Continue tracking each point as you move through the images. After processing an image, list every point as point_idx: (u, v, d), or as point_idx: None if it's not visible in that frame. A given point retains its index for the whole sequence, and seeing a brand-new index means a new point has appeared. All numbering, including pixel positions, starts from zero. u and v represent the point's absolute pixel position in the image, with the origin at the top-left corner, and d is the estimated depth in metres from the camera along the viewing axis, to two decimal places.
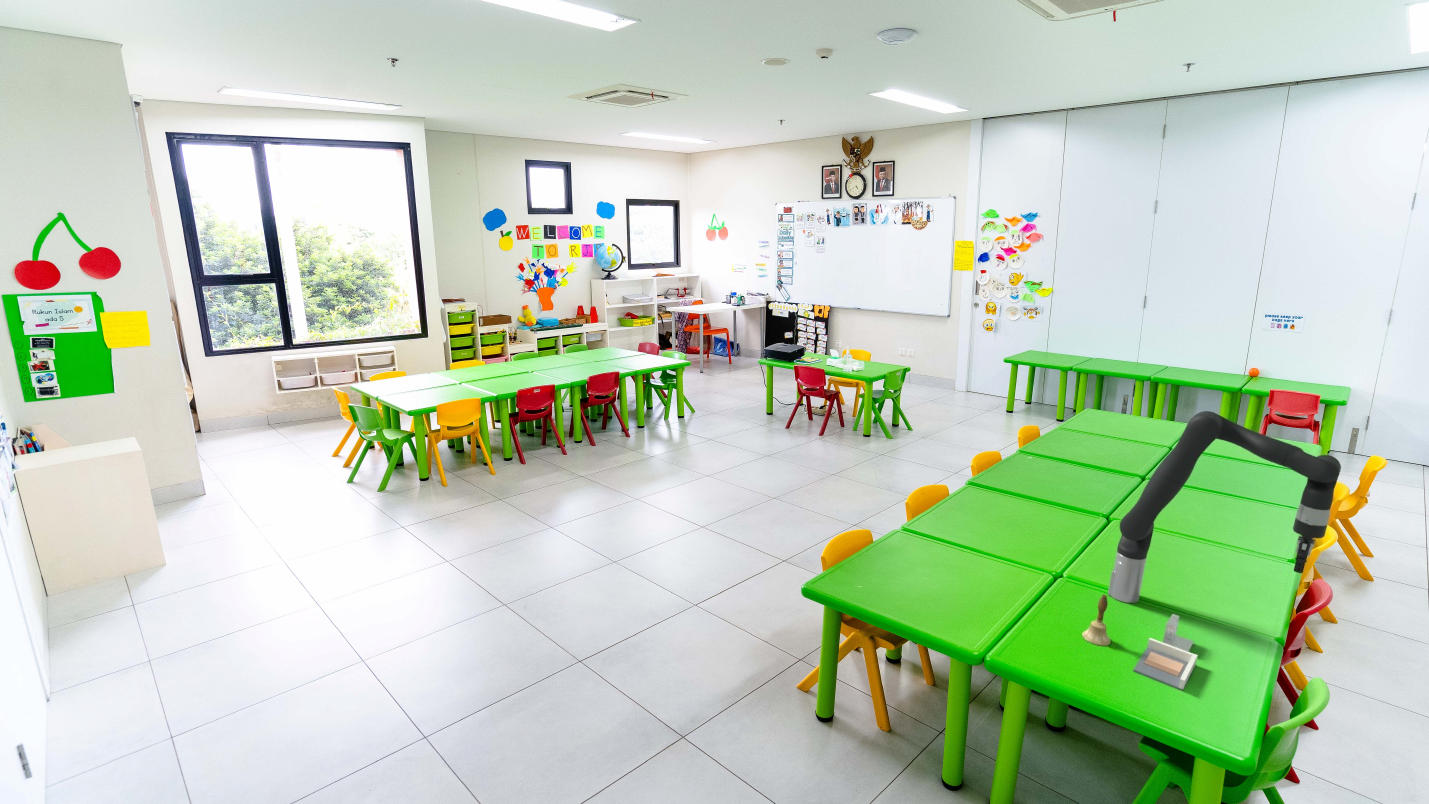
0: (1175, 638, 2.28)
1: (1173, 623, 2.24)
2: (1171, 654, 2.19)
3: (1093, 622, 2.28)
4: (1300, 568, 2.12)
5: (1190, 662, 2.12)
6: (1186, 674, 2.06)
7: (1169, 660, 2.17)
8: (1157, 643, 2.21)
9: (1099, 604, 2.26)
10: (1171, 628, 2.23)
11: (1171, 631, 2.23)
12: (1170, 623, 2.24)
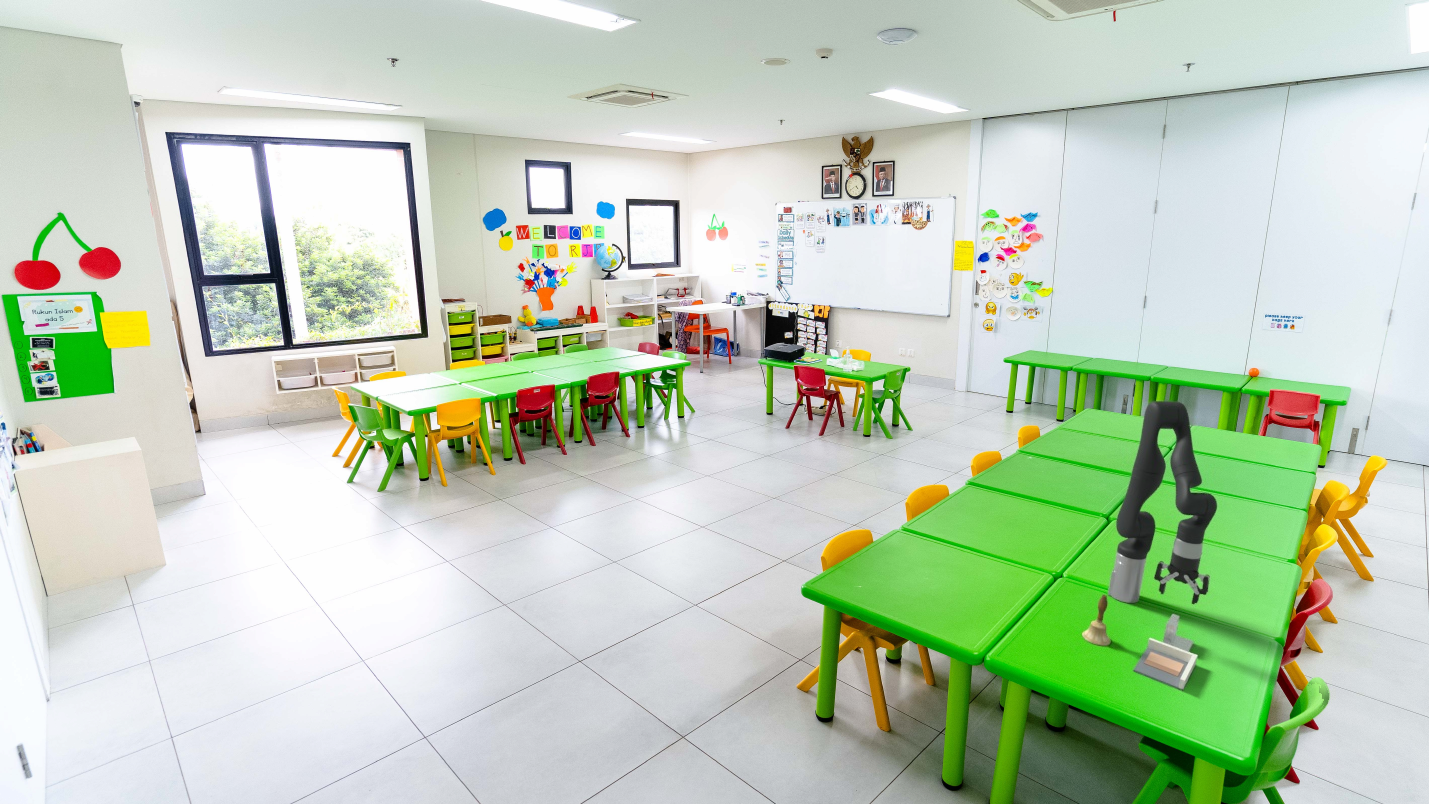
0: (1175, 638, 2.28)
1: (1173, 623, 2.24)
2: (1171, 654, 2.19)
3: (1093, 622, 2.28)
4: (1198, 598, 2.20)
5: (1190, 662, 2.12)
6: (1186, 674, 2.06)
7: (1169, 660, 2.17)
8: (1157, 643, 2.21)
9: (1099, 604, 2.26)
10: (1171, 628, 2.23)
11: (1171, 631, 2.23)
12: (1170, 623, 2.24)
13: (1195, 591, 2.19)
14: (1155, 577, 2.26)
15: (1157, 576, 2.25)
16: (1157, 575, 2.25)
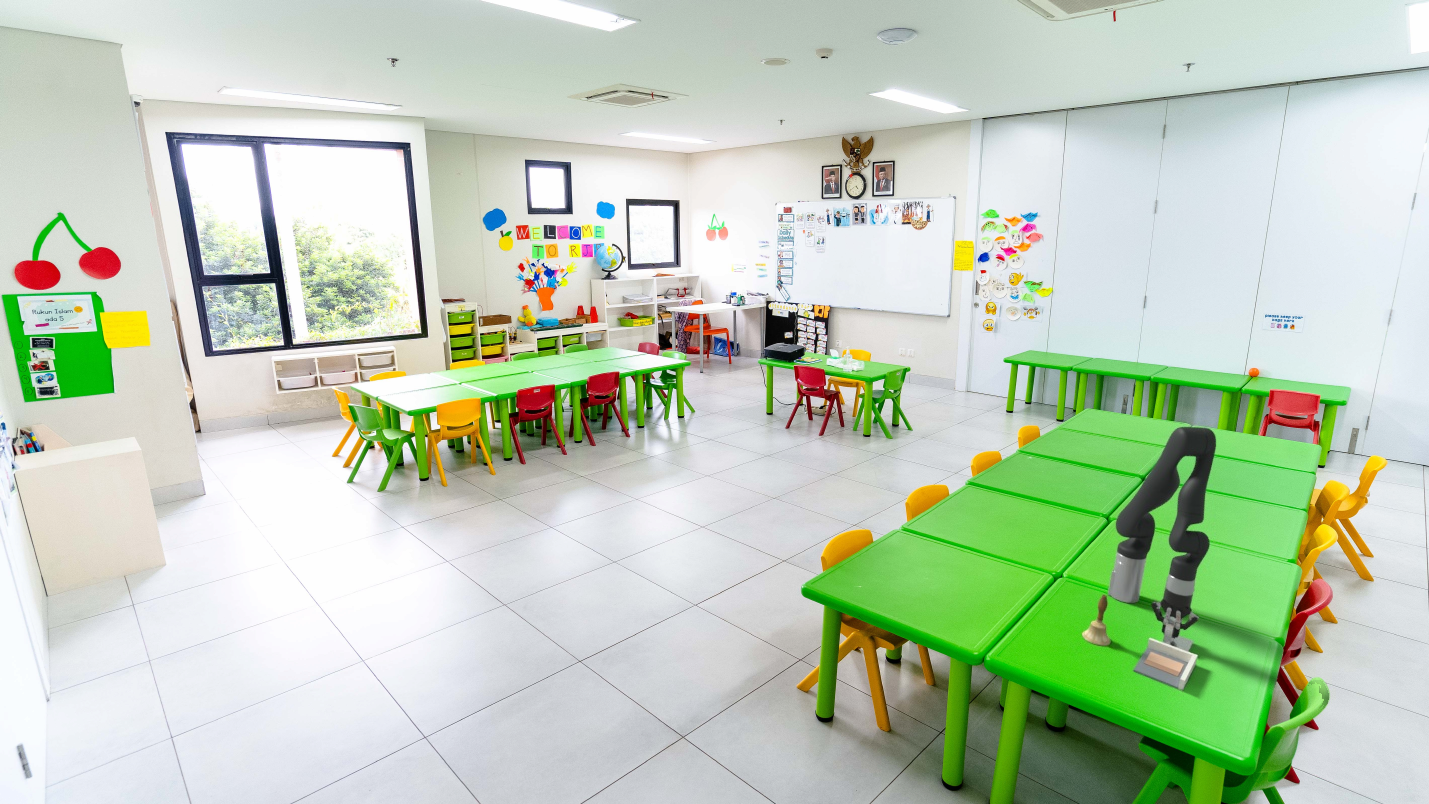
0: (1175, 638, 2.28)
1: (1173, 623, 2.24)
2: (1171, 654, 2.19)
3: (1093, 622, 2.28)
4: None
5: (1190, 662, 2.12)
6: (1186, 674, 2.06)
7: (1169, 660, 2.17)
8: (1157, 643, 2.21)
9: (1099, 604, 2.26)
10: (1171, 628, 2.23)
11: (1171, 631, 2.23)
12: (1170, 623, 2.24)
13: (1176, 626, 2.24)
14: (1158, 618, 2.28)
15: (1160, 617, 2.27)
16: (1158, 616, 2.28)
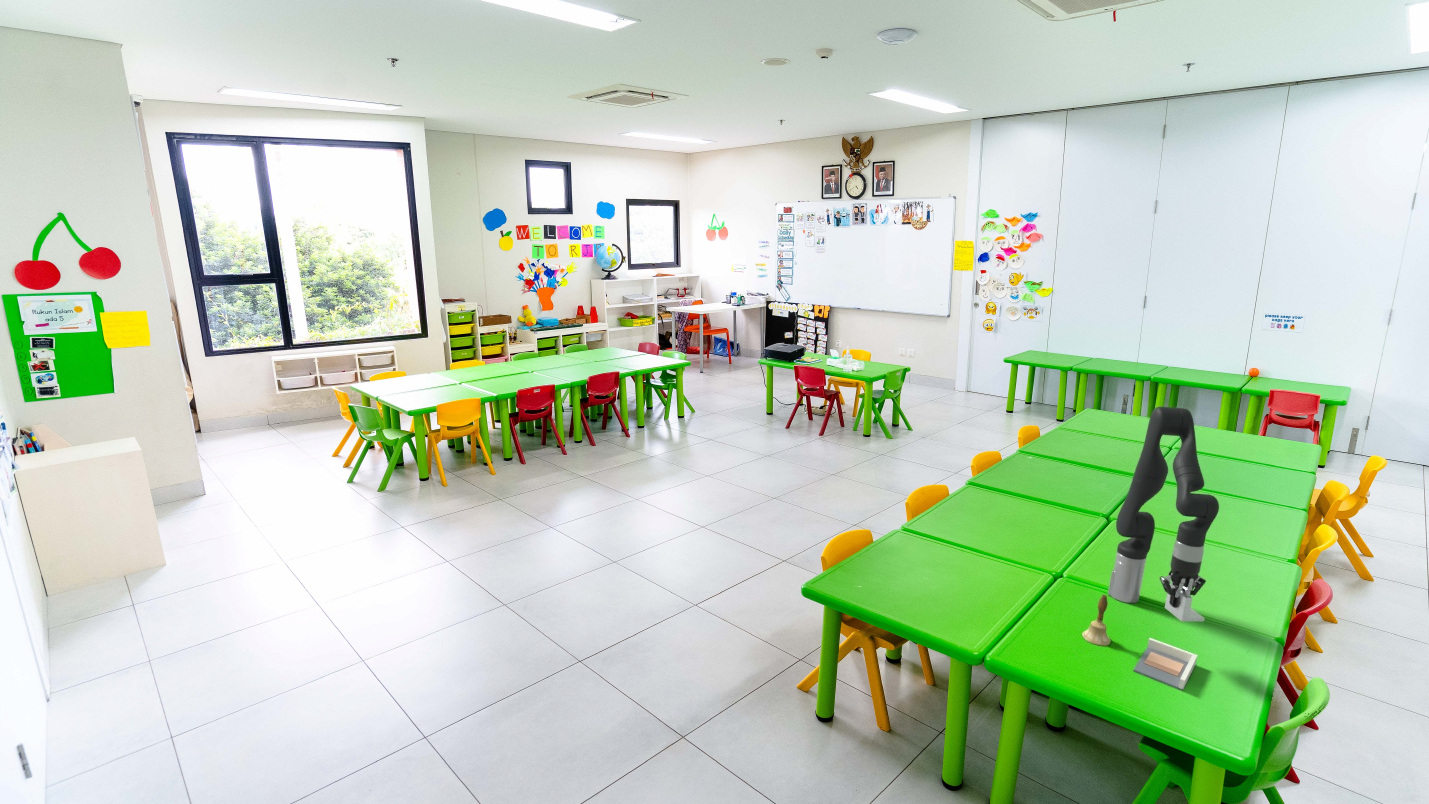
0: None
1: (1187, 595, 2.13)
2: (1171, 654, 2.19)
3: (1093, 622, 2.28)
4: None
5: (1190, 662, 2.12)
6: (1186, 674, 2.06)
7: (1169, 660, 2.17)
8: (1157, 643, 2.21)
9: (1099, 604, 2.26)
10: (1190, 601, 2.11)
11: (1190, 604, 2.12)
12: (1187, 596, 2.12)
13: None
14: (1170, 593, 2.14)
15: (1172, 591, 2.13)
16: (1170, 591, 2.13)
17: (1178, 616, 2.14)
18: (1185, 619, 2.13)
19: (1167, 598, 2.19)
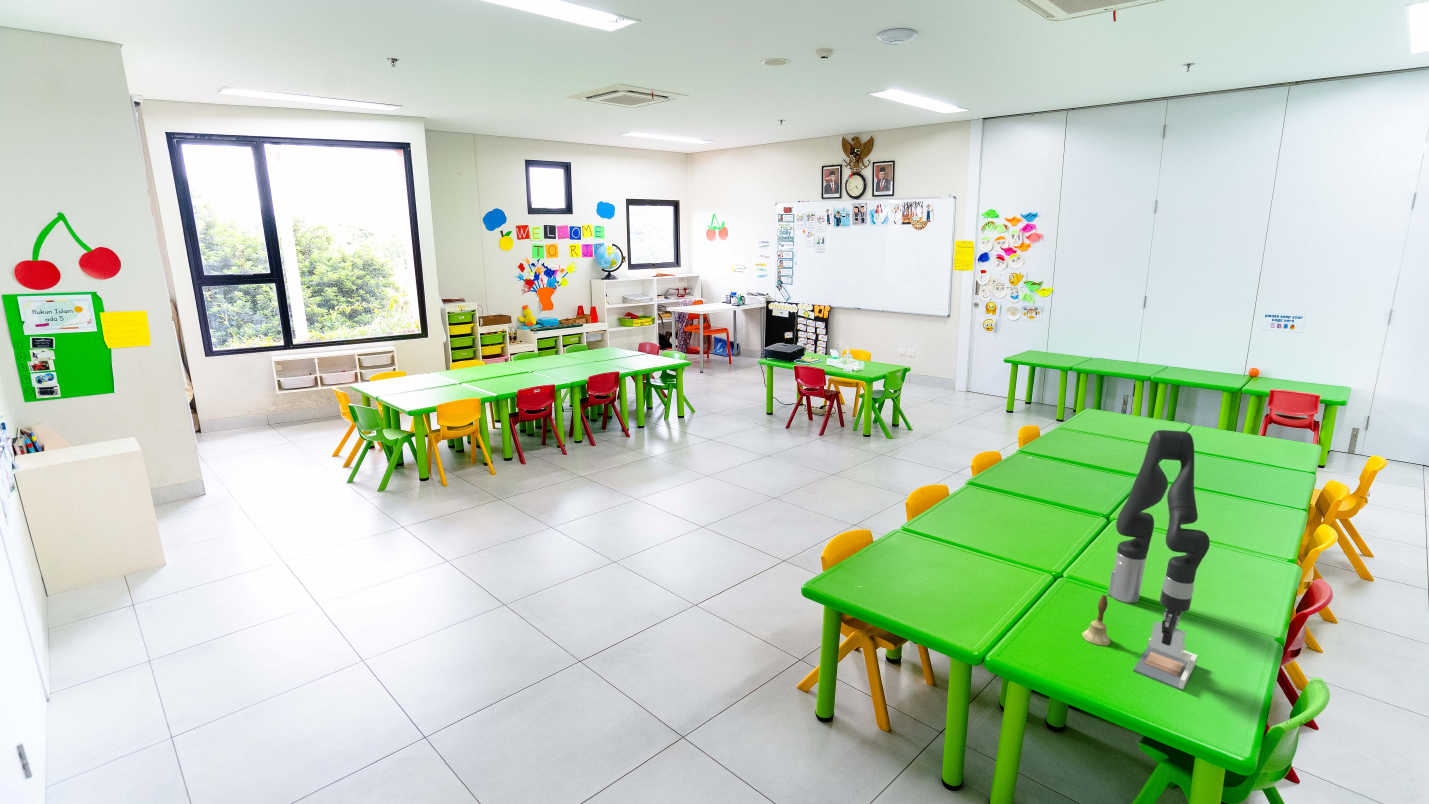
0: None
1: (1179, 629, 2.09)
2: None
3: (1093, 622, 2.28)
4: None
5: (1190, 662, 2.12)
6: (1186, 674, 2.06)
7: (1169, 660, 2.17)
8: None
9: (1099, 604, 2.26)
10: None
11: (1184, 638, 2.08)
12: (1182, 631, 2.08)
13: None
14: (1171, 634, 2.06)
15: (1172, 631, 2.07)
16: (1171, 631, 2.06)
17: (1174, 653, 2.09)
18: (1181, 654, 2.09)
19: (1153, 637, 2.13)
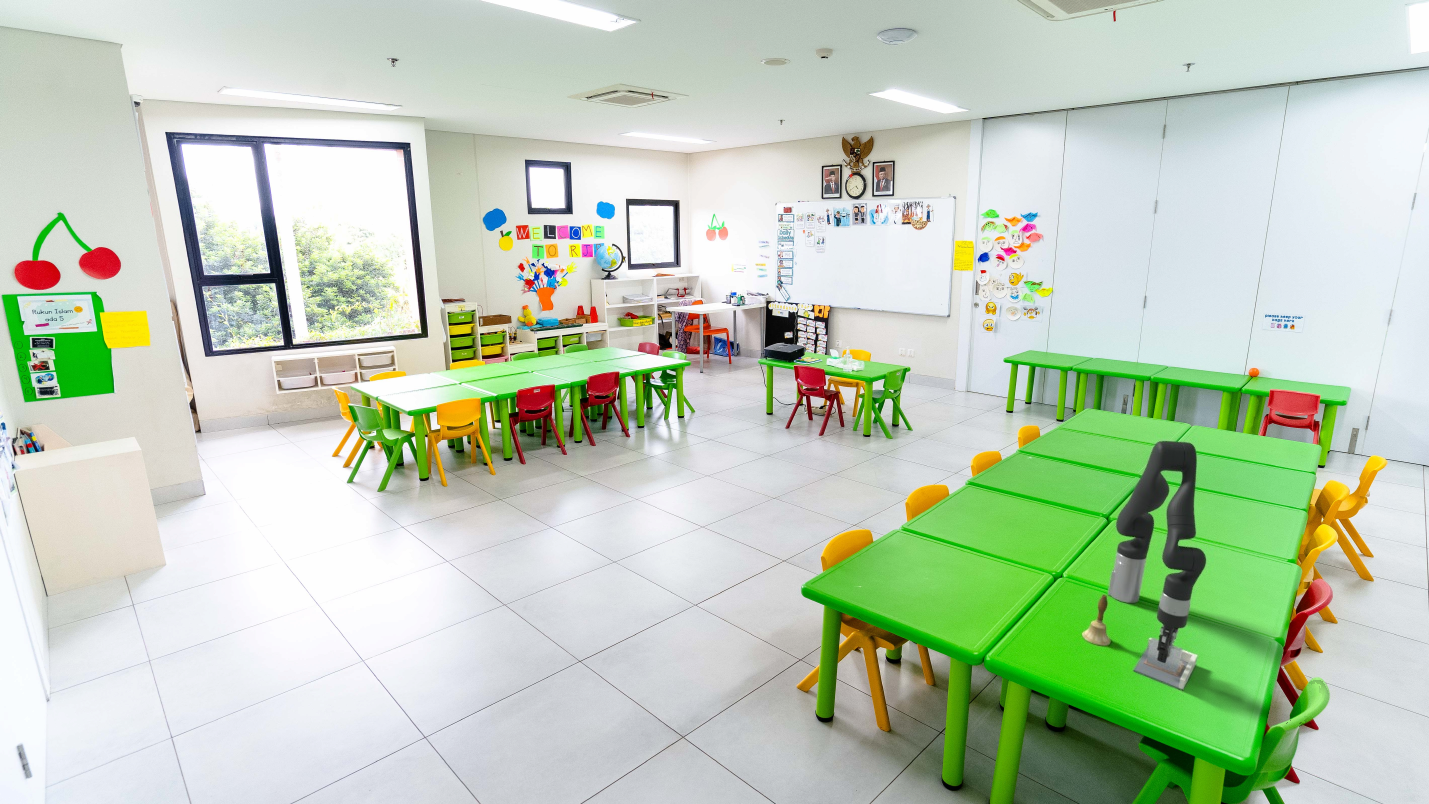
0: None
1: (1175, 646, 2.10)
2: None
3: (1093, 622, 2.28)
4: None
5: (1190, 662, 2.12)
6: (1186, 674, 2.06)
7: None
8: None
9: (1099, 604, 2.26)
10: (1181, 652, 2.09)
11: None
12: (1178, 649, 2.09)
13: (1173, 641, 2.13)
14: (1167, 652, 2.07)
15: (1167, 649, 2.07)
16: (1167, 648, 2.07)
17: (1170, 670, 2.11)
18: (1177, 671, 2.11)
19: (1149, 653, 2.14)
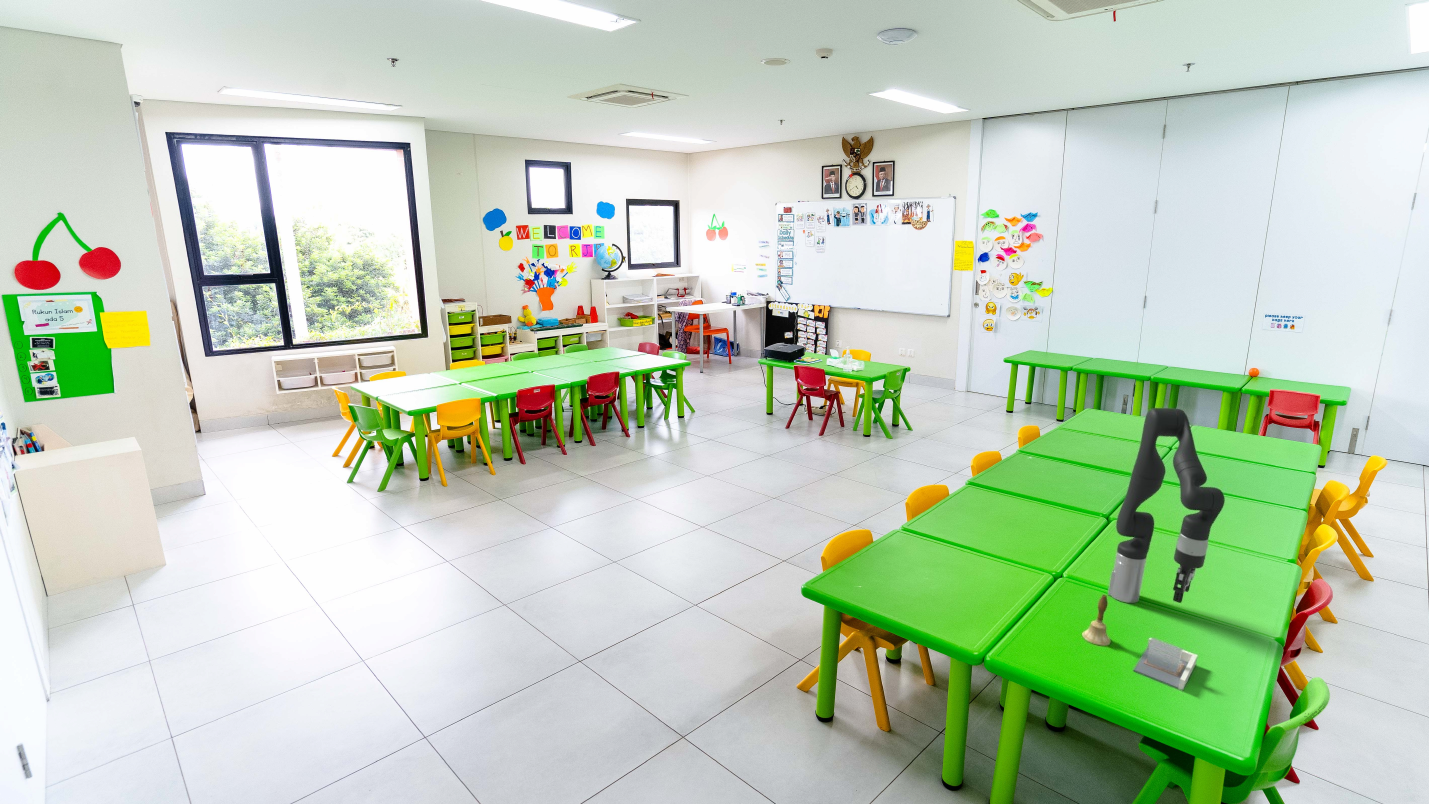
0: None
1: (1175, 646, 2.10)
2: None
3: (1093, 622, 2.28)
4: None
5: (1190, 662, 2.12)
6: (1186, 674, 2.06)
7: None
8: None
9: (1099, 604, 2.26)
10: (1181, 652, 2.09)
11: None
12: (1178, 649, 2.09)
13: (1191, 578, 2.14)
14: (1183, 591, 2.07)
15: (1183, 588, 2.07)
16: (1184, 587, 2.07)
17: (1170, 670, 2.11)
18: (1177, 671, 2.11)
19: (1149, 653, 2.14)
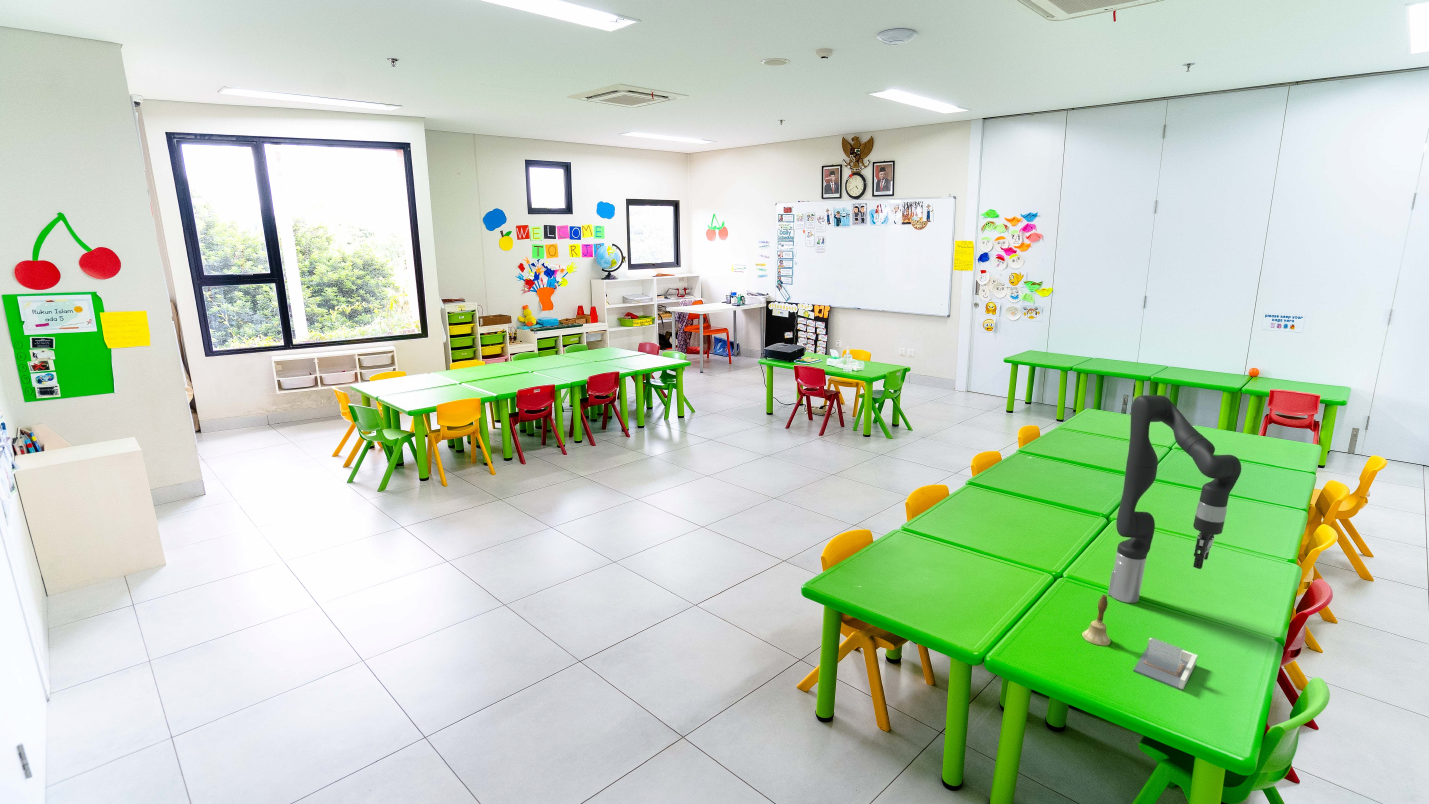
0: None
1: (1175, 646, 2.10)
2: None
3: (1093, 622, 2.28)
4: None
5: (1190, 662, 2.12)
6: (1186, 674, 2.06)
7: None
8: None
9: (1099, 604, 2.26)
10: (1181, 652, 2.09)
11: None
12: (1178, 649, 2.09)
13: (1210, 546, 2.22)
14: (1203, 556, 2.14)
15: (1204, 554, 2.14)
16: (1204, 553, 2.14)
17: (1170, 670, 2.11)
18: (1177, 671, 2.11)
19: (1149, 653, 2.14)
